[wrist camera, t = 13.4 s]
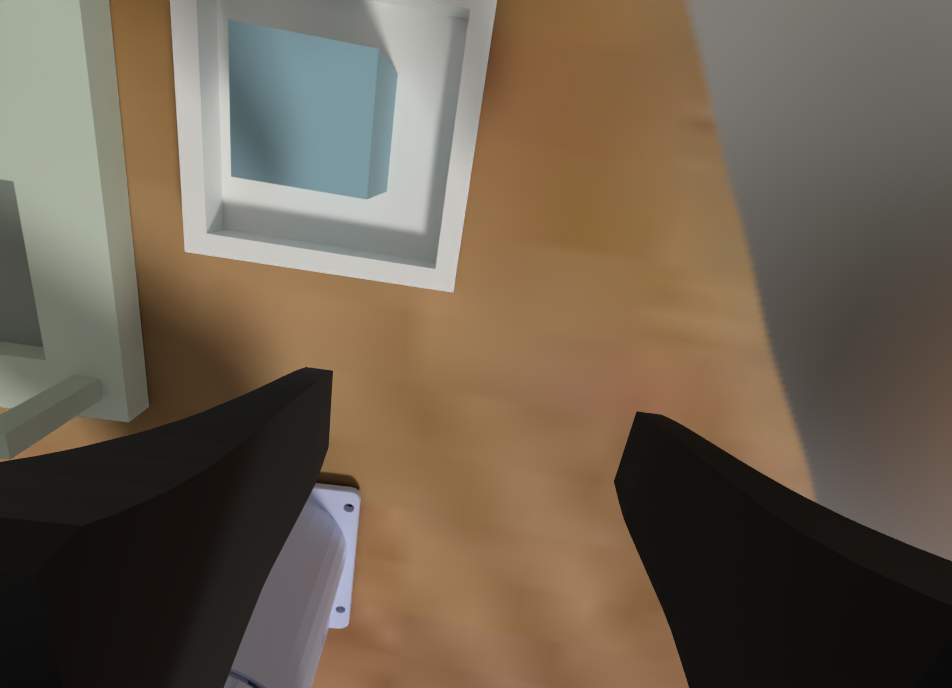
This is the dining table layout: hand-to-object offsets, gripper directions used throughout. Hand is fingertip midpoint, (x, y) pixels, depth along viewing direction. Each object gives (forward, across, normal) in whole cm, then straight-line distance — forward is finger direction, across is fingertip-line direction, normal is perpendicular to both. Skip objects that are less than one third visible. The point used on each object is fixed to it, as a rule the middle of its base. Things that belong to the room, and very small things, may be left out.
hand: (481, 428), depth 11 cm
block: (+9, +6, -6) cm, 13 cm away
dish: (+10, +6, -6) cm, 13 cm away
